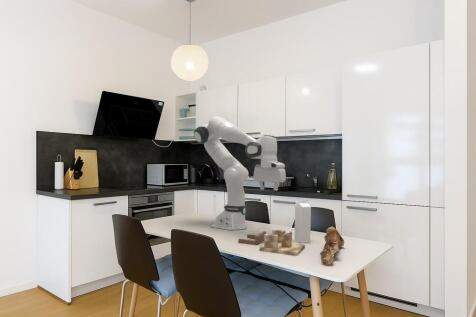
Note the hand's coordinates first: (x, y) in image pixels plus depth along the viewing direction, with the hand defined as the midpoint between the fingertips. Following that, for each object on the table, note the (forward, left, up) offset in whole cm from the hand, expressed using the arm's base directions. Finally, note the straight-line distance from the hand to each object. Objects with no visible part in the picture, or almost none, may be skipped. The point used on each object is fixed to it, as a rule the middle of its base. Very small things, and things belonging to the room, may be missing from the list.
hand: (268, 190), depth 177 cm
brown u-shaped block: (-6, -8, -27) cm, 29 cm away
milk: (+18, +5, -27) cm, 33 cm away
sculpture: (+34, -13, -27) cm, 46 cm away
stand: (+13, -15, -27) cm, 33 cm away
